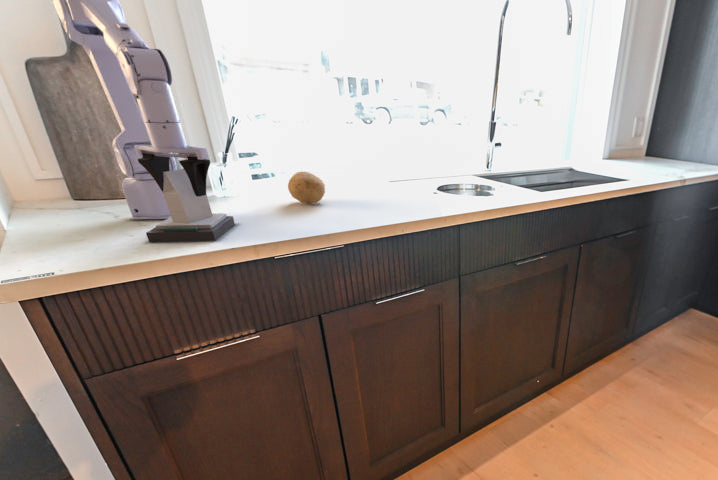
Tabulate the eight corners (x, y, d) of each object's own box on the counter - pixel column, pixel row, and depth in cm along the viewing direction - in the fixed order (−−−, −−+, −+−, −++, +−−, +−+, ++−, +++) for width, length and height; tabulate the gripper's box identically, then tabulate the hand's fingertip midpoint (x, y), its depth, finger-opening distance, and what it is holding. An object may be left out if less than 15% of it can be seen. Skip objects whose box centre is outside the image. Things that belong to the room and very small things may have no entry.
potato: (293, 209, 113) (287, 178, 110) (289, 199, 124) (283, 170, 120) (331, 207, 118) (327, 176, 114) (324, 197, 128) (320, 169, 125)
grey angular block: (212, 215, 94) (198, 168, 90) (188, 223, 89) (172, 172, 84) (197, 214, 95) (183, 167, 90) (172, 222, 89) (155, 171, 84)
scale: (149, 242, 86) (144, 228, 84) (176, 225, 97) (172, 213, 95) (215, 240, 88) (211, 227, 87) (235, 224, 99) (231, 212, 98)
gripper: (211, 123, 85) (229, 193, 92) (147, 119, 87) (170, 188, 93) (183, 124, 79) (205, 199, 86) (115, 120, 81) (141, 194, 87)
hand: (185, 194), depth 89 cm, fingers open, 7 cm apart
